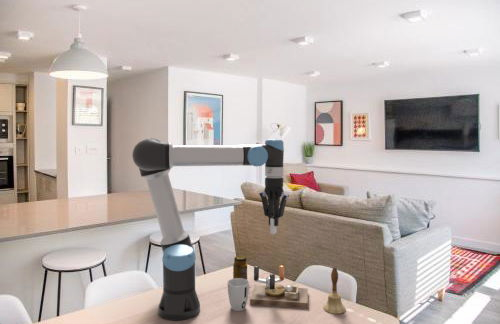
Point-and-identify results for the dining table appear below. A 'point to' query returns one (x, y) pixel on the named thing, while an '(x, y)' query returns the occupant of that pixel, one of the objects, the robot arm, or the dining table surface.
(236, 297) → the cup
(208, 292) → the dining table surface
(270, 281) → the capstan
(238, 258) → the condiment
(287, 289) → the ball
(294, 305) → the stand
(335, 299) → the hand bell
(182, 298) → the robot arm
